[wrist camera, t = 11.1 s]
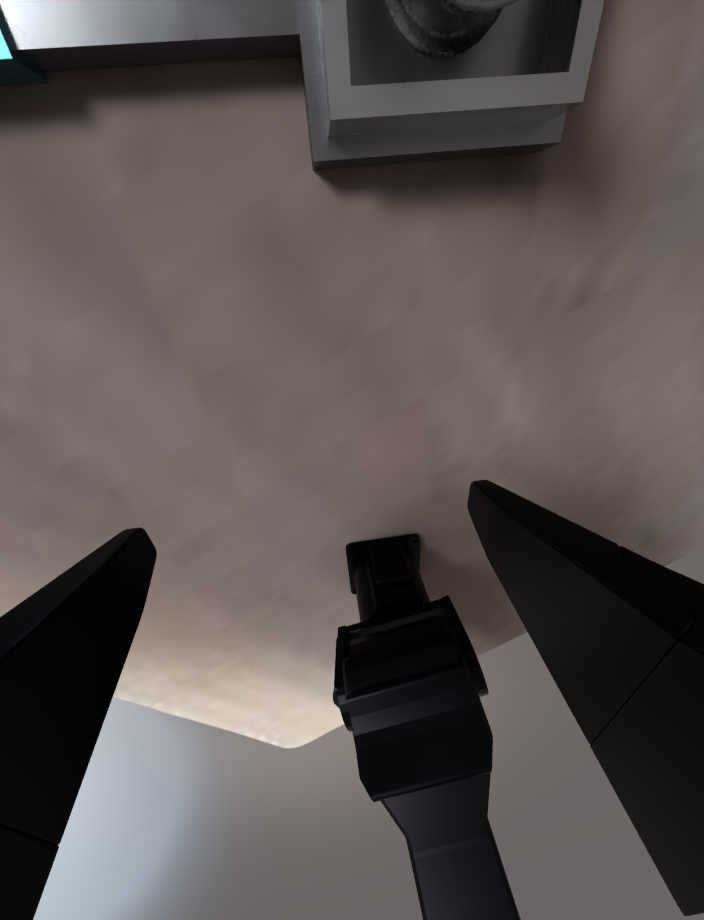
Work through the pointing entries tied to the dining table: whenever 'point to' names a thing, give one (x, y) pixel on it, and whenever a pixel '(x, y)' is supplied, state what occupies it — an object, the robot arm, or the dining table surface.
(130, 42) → the square frying pan
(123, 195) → the dining table surface
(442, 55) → the chess piece
